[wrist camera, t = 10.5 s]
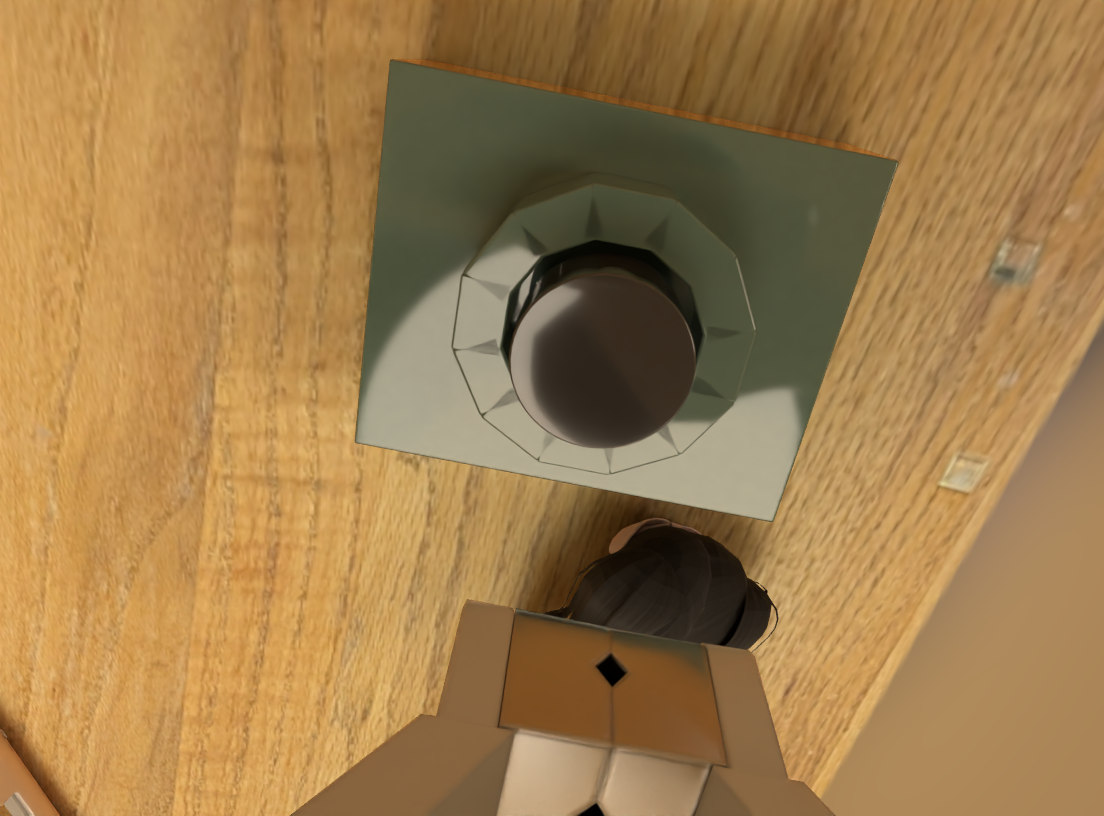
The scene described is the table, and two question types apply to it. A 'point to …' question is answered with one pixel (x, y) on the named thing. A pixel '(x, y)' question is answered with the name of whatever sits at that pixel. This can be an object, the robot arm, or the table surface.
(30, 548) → the table surface
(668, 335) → the knob
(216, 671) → the table surface
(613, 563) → the toy figure
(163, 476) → the table surface
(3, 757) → the tablet stand
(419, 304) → the green push button box
